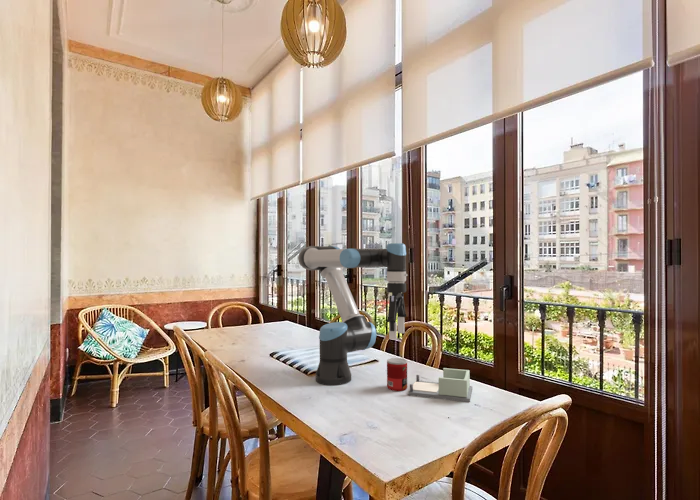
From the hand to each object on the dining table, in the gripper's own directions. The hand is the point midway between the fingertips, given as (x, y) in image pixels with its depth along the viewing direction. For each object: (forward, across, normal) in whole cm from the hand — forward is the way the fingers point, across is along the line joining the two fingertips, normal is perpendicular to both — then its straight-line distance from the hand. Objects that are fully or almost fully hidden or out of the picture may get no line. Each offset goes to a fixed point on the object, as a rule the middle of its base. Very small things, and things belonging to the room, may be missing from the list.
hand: (397, 336), depth 163 cm
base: (+21, +1, -17) cm, 27 cm away
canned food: (+21, 0, 0) cm, 21 cm away
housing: (+19, +1, -22) cm, 29 cm away
